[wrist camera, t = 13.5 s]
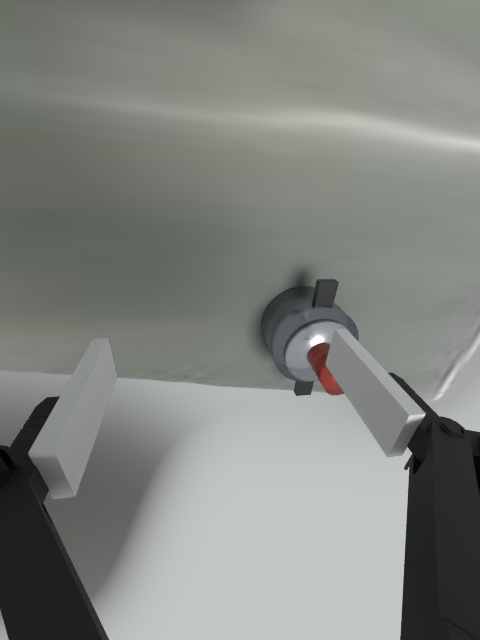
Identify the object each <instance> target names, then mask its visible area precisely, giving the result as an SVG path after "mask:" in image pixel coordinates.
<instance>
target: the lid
mask: <svg viewBox="0 0 480 640" xmlns="http://www.w3.org/2000/svg"><path fill="white" fill-rule="evenodd" d="M335 329H347V328H346V327H345V326H344V325H343V324H342V323H340V322H338V321H336V320H333V319H326V318H325V319H316V320H313V321H310V322H307V323H305V324H303V325H302V326H300V327H299V328H298V329H296V330H295V331H294V332H293V333H292V334H291V335H290V337H289V338H288V340H287V342H286V344H285V347H284V351H283V357H284V361H285V363H286V365H287V368H288V369H289V371H290V372H291V374H292V375H294V376H295V377H297V378H299V379H301V380H306V381H317V380H319V381H320V382H321V384H322V386H323V387H324V389H325V391H326V392H327V393H328V394H330V395H340V394H343V393H344V392H343V390H342V389H341V387H340V386H339V384H338V383H337V381H336V380H335V378H334V377H333V375H332V374H331V372H330V371H329V369H328V368H327V366H326V365H325V364H326V360H327V356H328V352H329V349H330V345H331V341H332V337H333V334H334V330H335ZM347 330H348V329H347ZM348 331H349V330H348ZM349 332H350V331H349Z"/></svg>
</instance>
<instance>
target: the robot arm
mask: <svg viewBox="0 0 480 640" xmlns="http://www.w3.org/2000/svg"><path fill="white" fill-rule="evenodd" d="M325 365H326V366H327V368H328V369H329V371H330V372H331V374H332V375H333V377H334V378H335V380H336V381H337V383H338V384H339V386H340V387H341V389H342V390H343V392H344V393H345V395H346V396H347V397H348V399H349V400H350V402H351V403H352V405H353V406H354V408H355V409H356V411H357V412H358V414H359V415H360V417H361V418H362V420H363V421H364V423H365V424H366V426H367V427H368V429H369V430H370V432H371V433H372V435H373V436H374V438H375V439H376V441H377V442H378V444H379V445H380V447H381V448H382V450H383V451H384V453H385V454H386V456H387V457H393V456H401V455H403V453H404V451H405V450H406V448H407V447H408V448H409V449H410V451H411V452H412V455H411V457H410V458H409V460H408V462H407V463H406V465H405V467H404V469H405V470H407V469H408V467H409V466H410V467H409V468H410V469H409V487H408V507H407V508H408V509H407V525H406V544H405V564H404V583H403V602H402V621H401V622H402V623H401V637H400V640H480V432H475V431H470V430H465V429H464V428H463V427H462V426H461V425H460V424H458V423H457V422H455V421H453V420H451V419H449V418H446V417H439V416H438V415H437V414H436V413H435V412H434V411H433V410H432V409H431V408H430V407H429V406H428V405H427V404H426V403H425V402H424V401H423V400H422V399H421V398H420V397H419V396H418V395H417V394H416V393H415V391H414V390H413V389H412V388H410V386H409V385H408V384H407V383H406V382H405V381H404V380H403V379H402V378H400V377H398V376H397V375H395V374H394V373H387V372H386V371H385V370H384V369H383V367H382V366H381V365H380V364H379V363H378V362H377V361H376V360H375V359H374V358H373V357H372V356H371V355H370V354H369V353H368V351H367V350H366V349H365V348H364V347H363V346H362V345H361V344H360V343H359V342H358V341H357V340H356V339H355V338H354V337H353V336H352V334H351V333H350V332H349V331H348V330H347V329H335V330H334V334H333V337H332V341H331V345H330V349H329V352H328V356H327V360H326V364H325ZM116 379H117V374H116V370H115V366H114V361H113V357H112V353H111V348H110V344H109V340H108V338H103V339H93V340H92V341H91V343H90V345H89V347H88V348H87V350H86V352H85V354H84V356H83V357H82V359H81V361H80V363H79V364H78V366H77V368H76V370H75V371H74V373H73V375H72V377H71V378H70V380H69V382H68V384H67V385H66V387H65V389H64V391H63V392H62V394H61V396H60V397H48V398H46V399H45V400H44V401H42V402H41V403H40V404H39V405H38V406H36V407H35V409H34V410H33V412H32V414H31V415H30V417H29V420H27V421H26V423H25V424H24V426H23V429H21V431H20V432H19V434H18V435H17V437H16V439H15V440H14V442H13V443H12V445H11V446H10V448H9V447H8V446H2V445H0V609H1V613H2V617H3V620H4V624H5V627H6V631H7V635H8V638H9V640H109V639H108V637H107V635H106V632H105V630H104V628H103V626H102V624H101V622H100V620H99V618H98V616H97V613H96V611H95V609H94V607H93V605H92V603H91V601H90V599H89V597H88V595H87V593H86V591H85V589H84V586H83V584H82V582H81V580H80V578H79V576H78V574H77V572H76V570H75V568H74V566H73V563H72V561H71V559H70V557H69V555H68V553H67V551H66V549H65V547H64V545H63V542H62V540H61V538H60V536H59V535H58V532H57V530H56V528H55V526H54V524H53V522H52V520H51V517H50V516H49V513H48V511H47V509H46V507H45V505H44V504H43V502H44V500H45V497H46V495H47V493H48V491H49V493H50V495H51V497H52V498H53V499H59V498H67V497H75V496H76V493H77V490H78V487H79V484H80V481H81V479H82V475H83V473H84V470H85V467H86V464H87V462H88V459H89V456H90V453H91V450H92V447H93V444H94V442H95V439H96V436H97V433H98V430H99V427H100V425H101V421H102V419H103V416H104V413H105V410H106V408H107V405H108V402H109V399H110V396H111V393H112V391H113V388H114V385H115V382H116Z"/></svg>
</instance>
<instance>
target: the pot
mask: <svg viewBox="0 0 480 640" xmlns="http://www.w3.org/2000/svg"><path fill="white" fill-rule="evenodd" d="M338 283H339V282H337V281H336V280H335V279H319V280H317V281H316V286H315V288H314V287H308V286H301V287H295V288H291V289H289V290H286V291H284V292H283V293H281V294H279V295H278V296H277V297H275V298H274V299H273V300H272V301H271V302H270V304H269V305H268V306H267V308H266V310H265V312H264V314H263V317H262V325H261V326H262V332H263V335H264V338H265V340H266V342H267V345H268V347H269V349H270V352H271V354H272V357H273V359H274V361H275V364H276V366H277V368H278V369H279V371H280V372H281V373H282V374H283V375H284V376H286V377H287V378H289V379H292V380H295V381H296V383H295V388H294V392H295V394H296V396H299V395H310V394H311V391H312V387H313V383H314V381H306V380H301V379H299V378H297V377H295V376H294V375H292V374H291V372H290V371H289V369H288V368H287V365H286V363H285V361H284V357H283V351H284V347H285V344H286V342H287V340H288V338H289V337H290V335H291V334H292V333H293V332H294V331H295V330H296V329H298V328H299V327H300V326H302V325H303V324H305V323H307V322H310V321H313V320H316V319H325V318H326V319H333V320H336V321H338V322H340V323H342V324H343V325H344V326H345V327H346V328H347V329H348V330H349V331H350V333H351V334H352V336H353V337H354V338H355V339H356V340H357V341H358V330H357V327H356V325H355V323H354V321H353V320H352V319H351V318H350V317H349V316H348V315H347V314H346V313H345V312H344V311H343V310H342V309H341V308H340V307H338V306H337V305H336V304H335V303H334V299H335V295H336V291H337V287H338Z"/></svg>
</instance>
